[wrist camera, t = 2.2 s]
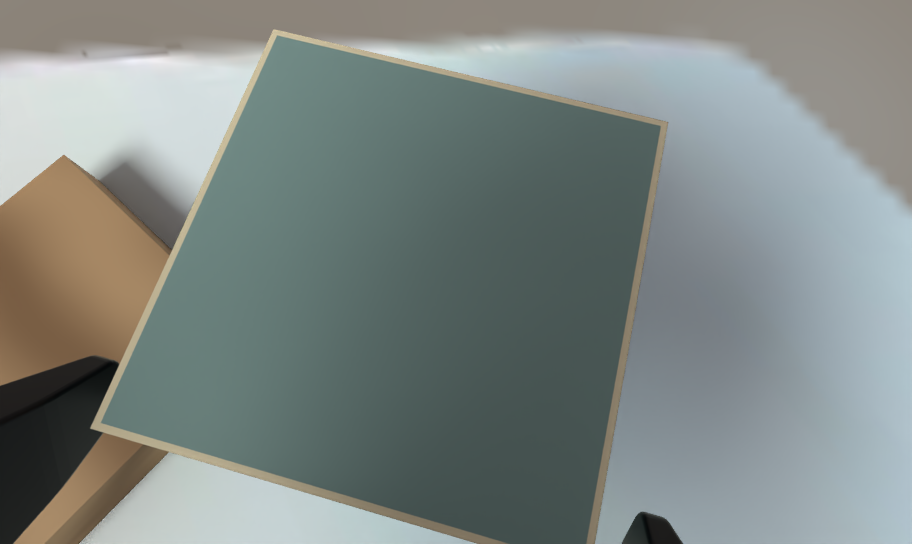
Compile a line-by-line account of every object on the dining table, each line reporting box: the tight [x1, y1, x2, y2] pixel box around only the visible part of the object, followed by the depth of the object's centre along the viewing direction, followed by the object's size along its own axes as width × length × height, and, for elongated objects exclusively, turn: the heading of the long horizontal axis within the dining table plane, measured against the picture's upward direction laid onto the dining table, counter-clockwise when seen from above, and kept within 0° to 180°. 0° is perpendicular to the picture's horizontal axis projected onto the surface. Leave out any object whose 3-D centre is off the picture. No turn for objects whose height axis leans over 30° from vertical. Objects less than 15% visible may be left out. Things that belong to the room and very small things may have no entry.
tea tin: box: [90, 30, 668, 544], centre depth 14 cm, size 7×7×12 cm
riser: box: [0, 155, 172, 544], centre depth 19 cm, size 10×10×2 cm
